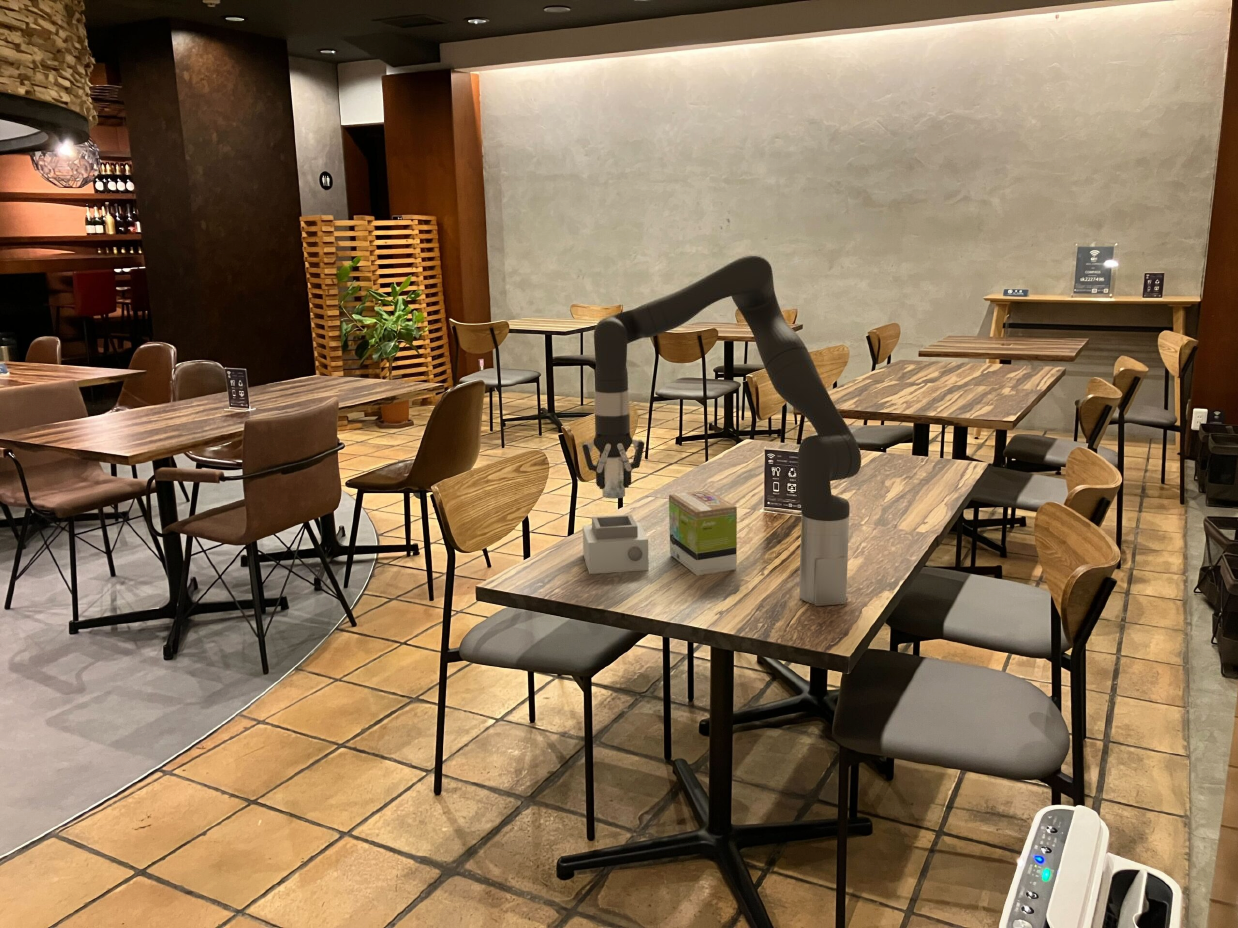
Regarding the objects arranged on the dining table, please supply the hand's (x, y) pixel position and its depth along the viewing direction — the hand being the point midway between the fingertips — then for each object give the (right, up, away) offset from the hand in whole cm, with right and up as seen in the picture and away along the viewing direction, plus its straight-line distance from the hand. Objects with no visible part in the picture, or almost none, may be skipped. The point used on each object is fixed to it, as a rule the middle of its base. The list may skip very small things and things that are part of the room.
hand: (613, 487), depth 213 cm
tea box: (+20, -17, +3) cm, 26 cm away
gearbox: (0, -17, +4) cm, 17 cm away
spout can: (0, -2, 0) cm, 2 cm away
